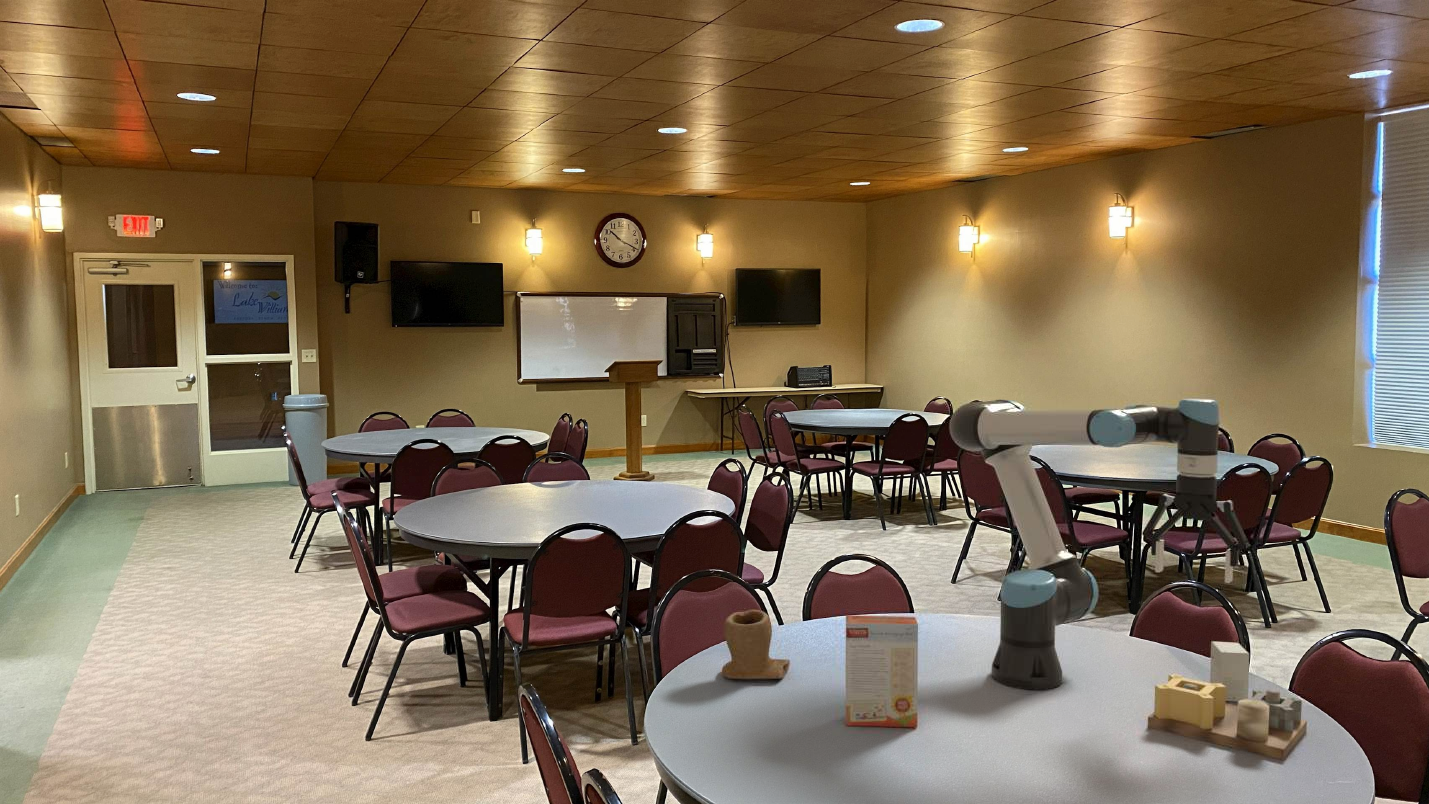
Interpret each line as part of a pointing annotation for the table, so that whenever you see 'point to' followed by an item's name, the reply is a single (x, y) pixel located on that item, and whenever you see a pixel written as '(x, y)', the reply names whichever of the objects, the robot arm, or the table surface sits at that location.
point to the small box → (1230, 669)
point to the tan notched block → (1190, 701)
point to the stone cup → (751, 647)
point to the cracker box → (881, 671)
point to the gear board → (1230, 736)
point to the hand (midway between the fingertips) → (1193, 576)
